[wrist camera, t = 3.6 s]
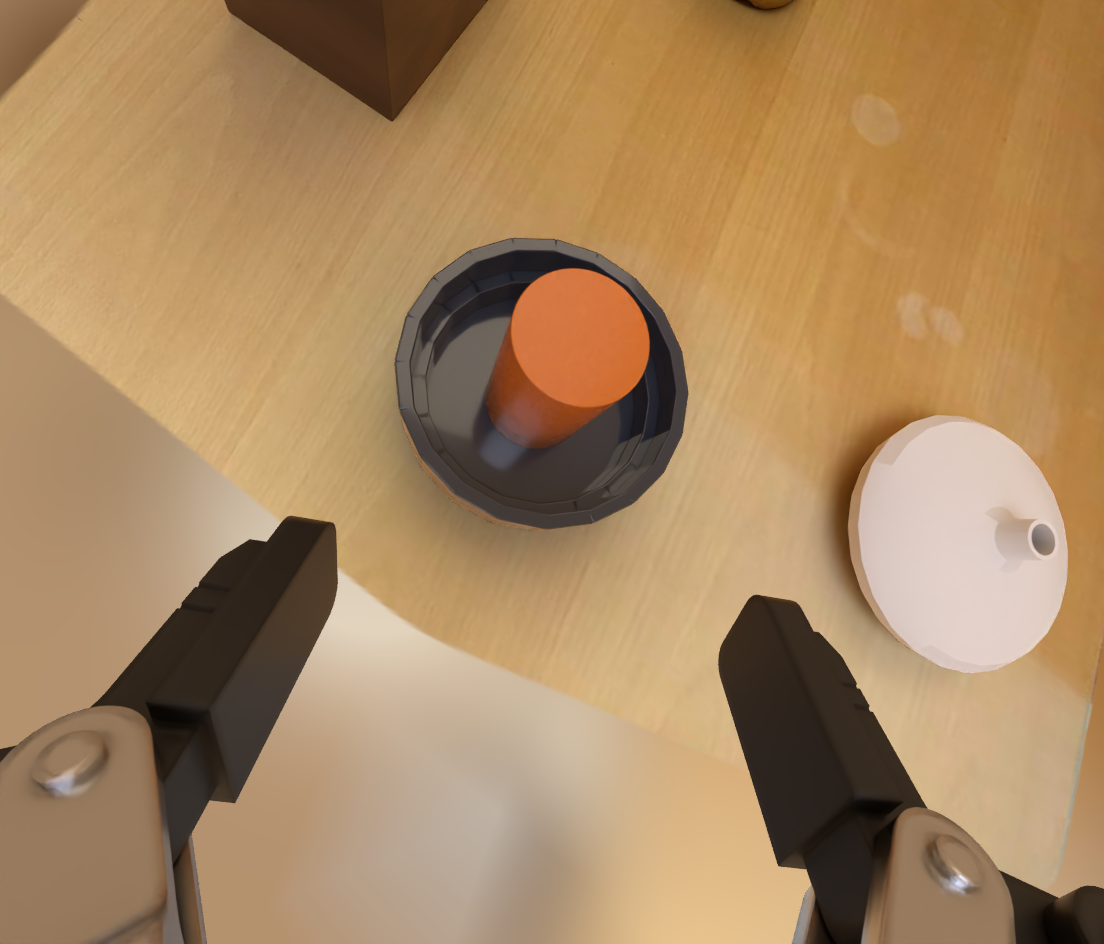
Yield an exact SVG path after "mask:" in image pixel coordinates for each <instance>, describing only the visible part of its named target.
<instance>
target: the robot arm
mask: <svg viewBox="0 0 1104 944" xmlns="http://www.w3.org/2000/svg"><path fill="white" fill-rule="evenodd" d="M337 581H338V578H337V544H336V528H335V525H334V523H332V522H326V521H320V520H314V519H308V518H302V517H296V516H288V517H286V518H285V519H284V520H283V521H282V522H281V524H280V525H279V527H278V528H277V529H276V530H275V532H274V533H273V534H272V536H271V537H270V538H269V540H268V541H267V542H264V541H258V540H251V539H250V540H248V541H246V542H245V543H243V544H242V545H240V546H239V547H237V548H235V549H233V550H232V551H230V552H229V553H227V554H225V555H224V556H222V557H221V558H219V560H218V561H217V562H216V563H215V564H214V566H213V567H212V568H211V569H210V570H209V571H208V573H207V574H206V575H205V576H204V577H203V578H202V580H201V581H200V582H199V586H198V587H195V588H194V589H193V590H192V592H191V593H190V594H189V595H188V596H187V597H186V599H185V600H184V601H183V602H182V606H181V608H180V609H179V608H177V609H176V610H175V612H174V613H173V614H172V615H171V616H170V617H169V618H168V620H167V621H166V622H165V623H164V624H163V626H162V627H161V628H160V629H159V630H158V632H157V633H156V634H155V635H154V636H153V637H152V639H151V640H150V641H149V642H148V643H147V645H146V646H145V647H144V648H143V649H142V651H141V652H140V653H139V654H138V655H137V656H136V657H135V659H134V660H133V661H132V662H131V663H130V664H129V666H128V667H127V668H126V669H125V670H124V672H123V673H122V674H121V675H120V676H119V678H118V679H117V680H116V681H115V682H114V683H113V685H112V686H111V687H110V688H109V689H108V691H107V692H106V693H105V694H104V695H103V696H102V697H101V698H100V699H99V700H98V701H97V702H96V703H95V704H93V705H92V706H91V707H90V708H87V709H83V710H80V711H76V712H73V713H71V714H68V715H65V716H63V717H61V718H58V719H56V720H54V721H52V722H51V723H49V724H47V725H45V726H43V727H42V728H40V729H38V730H37V731H35V732H33V733H32V734H31V735H29V736H28V737H27V738H26V739H24V740H23V741H22V742H20V743H19V744H18V745H16V746H13V747H8V748H3V749H0V944H207V940H206V933H205V927H204V918H203V911H202V904H201V897H200V890H199V882H198V875H197V868H196V861H195V854H194V847H193V840H192V834H191V833H192V831H193V829H194V828H195V826H196V824H197V822H198V820H199V818H200V816H201V815H202V813H203V811H204V809H205V807H206V806H207V803H208V802H209V800H212V801H221V802H231V803H235V802H236V800H237V798H238V796H239V794H240V792H241V790H242V788H243V786H244V784H245V782H246V780H247V778H248V776H249V774H250V772H251V770H252V768H253V766H254V764H255V762H256V760H257V758H258V756H259V754H260V752H261V750H262V748H263V746H264V744H265V743H266V740H267V738H268V737H269V734H270V732H271V730H272V729H273V726H274V725H275V723H276V720H277V719H278V717H279V715H280V712H281V711H282V709H283V707H284V705H285V703H286V701H287V699H288V697H289V694H290V693H291V691H292V689H293V687H294V685H295V683H296V681H297V679H298V677H299V675H300V673H301V671H302V669H303V667H304V665H305V663H306V661H307V659H308V657H309V655H310V653H311V651H312V649H313V647H314V645H315V643H316V641H317V639H318V637H319V635H320V633H321V631H322V629H323V627H324V625H325V623H326V621H327V619H328V617H329V615H330V613H331V610H332V607H333V604H334V601H335V597H336V592H337V584H338V582H337ZM718 666H719V674H720V678H721V681H722V684H723V687H724V691H725V694H726V697H727V700H728V704H729V707H730V710H731V714H732V717H733V720H734V723H735V727H736V730H737V733H738V736H739V740H740V743H741V746H742V749H743V753H744V756H745V759H746V762H747V766H748V769H749V772H750V776H751V778H752V782H753V785H754V789H755V792H756V795H757V798H758V801H759V805H760V808H761V811H762V815H763V818H764V821H765V824H766V827H767V831H768V834H769V837H770V841H771V844H772V847H773V851H774V854H775V857H776V860H777V864H778V866H781V867H791V868H799V869H807V872H808V875H809V878H810V881H811V884H812V886H811V887H810V888H809V889H808V890H807V891H806V893H805V895H804V898H803V902H802V906H801V910H800V914H799V918H798V922H797V926H796V930H795V934H794V938H793V942H792V944H1104V889H1103V888H1099V887H1096V886H1084V887H1080V888H1078V889H1076V890H1074V891H1072V892H1070V893H1068V894H1066V895H1065V896H1063V897H1061V898H1058V897H1055V896H1053V895H1051V894H1049V893H1047V892H1045V891H1043V890H1040V889H1038V888H1036V887H1034V886H1032V885H1030V884H1028V883H1025V882H1023V881H1021V880H1019V879H1017V878H1015V877H1013V876H1011V875H1008V874H1006V873H1004V872H1002V871H1000V870H998V868H997V867H996V865H995V864H994V862H993V861H992V860H991V858H990V857H989V856H988V854H987V853H986V852H985V851H984V849H983V848H982V847H981V846H980V845H979V844H978V843H977V842H976V841H975V840H974V839H973V838H972V837H971V836H970V835H969V834H968V833H967V832H966V831H965V830H963V829H962V828H961V827H960V826H958V825H957V824H956V823H954V822H953V821H951V820H950V819H948V818H946V817H945V816H943V815H941V814H939V813H937V812H935V811H932V810H929V809H928V808H927V807H926V805H925V804H924V802H923V800H922V799H921V797H920V795H919V793H918V792H917V790H916V788H915V786H914V784H913V783H912V781H911V779H910V777H909V776H908V774H907V772H906V770H905V768H904V767H903V765H902V763H901V761H900V759H899V758H898V756H897V754H896V752H895V751H894V749H893V747H892V745H891V743H890V742H889V740H888V738H887V736H886V735H885V733H884V731H883V729H882V727H881V726H880V724H879V722H878V720H877V719H876V717H875V715H874V713H873V712H870V711H869V704H868V703H867V701H866V699H865V697H864V695H863V694H862V692H861V690H860V689H857V687H856V684H857V683H856V681H855V679H854V678H853V676H852V674H851V672H850V670H849V669H848V667H847V665H846V663H845V662H844V660H843V658H842V656H841V655H840V654H839V653H838V652H837V651H836V650H835V649H834V648H833V647H832V646H831V645H830V644H829V643H828V641H827V640H826V639H825V638H824V637H823V636H822V635H821V634H820V633H819V632H814V631H813V629H812V627H811V626H810V624H809V622H808V620H807V618H806V616H805V614H804V612H803V611H802V609H801V607H800V606H799V605H798V604H797V603H796V602H794V601H791V600H785V599H779V598H773V597H767V596H761V595H753V596H752V597H751V598H749V600H748V601H747V603H746V604H745V606H744V608H743V609H742V611H741V613H740V614H739V616H738V618H737V619H736V621H735V623H734V624H733V626H732V628H731V629H730V631H729V633H728V634H727V636H726V638H725V639H724V641H723V643H722V645H721V648H720V652H719V660H718Z"/></svg>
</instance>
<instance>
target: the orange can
mask: <svg viewBox="0 0 1104 944" xmlns="http://www.w3.org/2000/svg"><path fill="white" fill-rule="evenodd" d="M649 349H650V341H649V332H648V328H647V324H646V321H645V319H644V316H643V314H642V312H641V310H640V308H639V306H638V305H637V303H636V302H635V300H634V299H633V298H632V297H631V296H630V294H629V293H628V292H627V291H626V290H625V289H624V288H623V287H621V286H620V285H619V284H617V283H616V282H615V281H613V280H612V279H610V278H608V277H606V276H604V275H602V274H600V273H597V272H594V271H590V270H585V269H576V268H569V269H561V270H556V271H553V272H550V273H547V274H545V275H543V276H541V277H540V278H538V279H537V280H535V281H534V282H533V283H531V284H530V285H529V286H528V287H527V288H526V289H525V290H524V292H523V293H522V295H521V296H520V298H519V299H518V301H517V303H516V305H515V308H514V311H513V314H512V316H511V319H510V322H509V325H508V327H507V330H506V333H505V336H504V338H503V341H502V344H501V347H500V349H499V352H498V355H497V358H496V360H495V363H494V366H493V369H492V371H491V374H490V377H489V380H488V382H487V386H486V392H485V402H486V408H487V411H488V414H489V417H490V419H491V421H492V423H493V424H494V426H495V427H496V429H497V430H498V431H499V432H500V433H501V434H502V435H503V436H504V437H505V438H507V439H508V440H510V441H511V442H513V443H515V444H517V445H520V446H523V447H527V448H534V449H542V448H548V447H552V446H555V445H557V444H559V443H561V442H563V441H564V440H566V439H567V438H568V437H570V436H571V435H572V434H574V433H575V432H576V431H578V430H579V429H581V428H582V427H583V426H585V425H586V424H587V423H589V422H590V421H591V420H593V419H594V418H596V417H597V416H598V415H600V414H601V413H602V412H604V411H605V410H606V409H608V408H609V407H611V406H612V405H613V404H615V403H616V402H617V401H619V400H620V399H621V398H623V397H624V396H625V395H627V394H628V393H629V392H630V391H631V390H632V389H633V388H634V387H635V386H636V385H637V383H638V382H639V380H640V379H641V377H642V375H643V373H644V371H645V369H646V365H647V362H648V357H649Z"/></svg>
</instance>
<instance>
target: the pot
mask: <svg viewBox="0 0 1104 944" xmlns="http://www.w3.org/2000/svg"><path fill="white" fill-rule="evenodd" d="M569 268H576V269H585V270H590V271H594V272H597V273H600V274H602V275H604V276H606V277H608V278H610V279H612V280H613V281H615V282H616V283H617V284H619V285H620V286H621V287H623V288H624V289H625V290H626V291H627V292H628V293H629V294H630V296H631V297H632V298H633V299H634V300H635V302H636V303H637V305H638V306H639V308H640V310H641V312H642V314H643V316H644V319H645V321H646V324H647V328H648V332H649V341H650V349H649V357H648V362H647V365H646V369H645V371H644V373H643V375H642V377H641V379H640V380H639V382H638V383H637V385H636V386H635V387H634V388H633V389H632V390H631V391H630V392H629V393H628V394H627V395H625V396H624V397H623V398H621V399H620V400H619V401H617V402H616V403H615V404H613V405H612V406H611V407H609V408H608V409H606V410H605V411H604V412H602V413H601V414H600V415H598V416H597V417H596V418H594V419H593V420H591V421H590V422H589V423H587V424H586V425H585V426H583V427H582V428H581V429H579V430H578V431H576V432H575V433H574V434H572V435H571V436H570V437H568V438H567V439H566V440H564V441H563V442H561V443H559V444H557V445H555V446H552V447H548V448H542V449H534V448H527V447H523V446H520V445H517V444H515V443H513V442H511V441H510V440H508V439H507V438H505V437H504V436H503V435H502V434H501V433H500V432H499V431H498V430H497V429H496V427H495V426H494V424H493V423H492V421H491V419H490V417H489V414H488V411H487V408H486V402H485V392H486V386H487V382H488V380H489V377H490V374H491V371H492V369H493V366H494V363H495V360H496V358H497V355H498V352H499V349H500V347H501V344H502V341H503V338H504V336H505V333H506V330H507V327H508V325H509V322H510V319H511V316H512V314H513V311H514V308H515V305H516V303H517V301H518V299H519V298H520V296H521V295H522V293H523V292H524V290H525V289H526V288H527V287H528V286H529V285H530V284H531V283H533V282H534V281H535V280H537V279H538V278H540V277H541V276H543V275H545V274H547V273H550V272H553V271H556V270H561V269H569ZM395 373H396V384H397V395H398V406H399V412H400V416H401V420H402V424H403V428H404V431H405V433H406V435H407V438H408V440H409V442H410V444H411V447H412V449H413V451H414V453H415V456H416V458H417V460H418V462H419V464H420V467H421V468H422V470H423V471H424V472H425V473H426V474H427V475H428V476H429V477H430V478H431V480H432V481H433V482H434V483H435V484H436V485H437V486H438V487H439V488H440V489H441V490H442V492H443V493H444V494H445V495H446V496H447V497H448V498H449V499H450V500H452V502H454V503H456V504H457V505H459V506H461V507H463V508H465V509H466V510H468V511H470V512H472V513H473V514H475V515H477V516H479V517H480V518H482V519H484V520H486V521H488V522H490V523H494V524H499V525H504V526H509V527H514V528H519V529H524V530H529V531H530V530H532V531H533V530H546V529H555V528H563V527H571V526H579V525H586V524H592V523H595V522H597V521H599V520H601V519H603V518H605V517H607V516H609V515H612V514H614V513H616V512H618V511H620V510H622V509H624V508H626V507H628V506H630V505H632V504H633V503H635V502H636V501H637V500H638V499H639V498H640V497H641V496H642V495H643V494H644V493H645V492H646V490H647V489H648V488H649V487H650V486H651V485H652V484H653V483H654V482H655V481H656V480H657V479H658V478H659V477H660V476H661V475H662V474H663V473H664V471H665V469H666V467H667V465H668V463H669V461H670V459H671V457H672V455H673V453H674V451H675V449H676V447H677V445H678V443H679V441H680V439H681V437H682V434H683V427H684V420H685V413H686V406H687V399H688V387H687V380H686V374H685V367H684V361H683V354H682V351H681V348H680V346H679V343H678V341H677V339H676V337H675V335H674V333H673V330H672V328H671V326H670V324H669V322H668V320H667V318H666V315H665V313H664V312H663V310H662V309H661V307H660V306H659V305H658V304H657V303H656V302H655V300H654V299H653V298H652V297H651V296H650V294H649V293H648V292H647V291H646V290H645V289H644V287H643V286H642V285H641V284H640V283H639V282H638V280H637V279H636V278H634V277H633V276H632V275H630V274H629V273H627V272H626V271H624V270H623V269H621V268H620V267H618V266H617V265H615V264H614V263H612V262H611V261H609V260H608V259H607V258H605V257H604V256H602V255H601V254H598V253H597V252H594V251H591V250H588V249H585V248H582V247H578V246H575V245H572V244H569V243H566V242H563V241H560V240H555V239H528V238H510V239H506V240H503V241H500V242H496V243H493V244H489V245H486V246H483V247H479V248H476V249H473V250H470V251H468V252H466V253H465V254H464V255H462V256H461V257H459V258H458V259H457V260H455V261H454V262H452V263H451V264H450V265H448V266H447V267H446V268H444V269H443V270H441V271H440V272H439V273H437V274H436V275H434V276H433V278H431V280H430V281H429V283H428V284H427V286H426V287H425V288H424V290H423V291H422V293H421V294H420V296H419V297H418V299H417V300H416V302H415V303H414V304H413V306H412V307H411V309H410V310H409V312H408V313H407V316H406V318H405V322H404V326H403V329H402V333H401V337H400V341H399V345H398V349H397V353H396V357H395Z"/></svg>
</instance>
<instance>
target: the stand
mask: <svg viewBox="0 0 1104 944" xmlns="http://www.w3.org/2000/svg"><path fill="white" fill-rule="evenodd" d="M486 1H487V0H225V3H226V5H227V8H228V10H229V12H231V13H232V14H234V15H235V16H237V17H238V18H240V19H241V20H243V21H244V22H246V23H247V24H249V25H250V26H252V27H253V28H255V29H256V30H257V31H259V32H260V33H262V34H263V35H265V36H266V37H268V38H269V39H271V40H272V41H274V42H275V43H277V44H278V45H280V46H281V47H283V48H284V49H286V50H287V51H289V52H290V53H292V54H293V55H295V56H296V57H298V58H299V59H301V60H302V61H304V62H305V63H306V64H308V65H309V66H311V67H312V68H314V69H315V70H317V71H318V72H320V73H321V74H323V75H324V76H326V77H327V78H329V79H330V80H332V81H333V82H335V83H336V84H338V85H339V86H341V87H342V88H344V89H345V90H347V91H348V92H350V93H351V94H353V95H354V96H355V97H357V98H358V99H360V100H361V101H363V102H364V103H366V104H367V105H369V106H370V107H372V108H373V109H375V110H376V111H378V112H379V113H381V114H382V115H384V116H385V117H387V118H388V119H390V120H391V121H393V120H394V119H395V117H396V116H397V115H398V113H399V112H400V111H401V110H402V108H403V107H404V106H405V104H406V103H407V102H408V101H409V99H410V98H411V97H412V96H413V94H414V93H415V92H416V90H417V89H418V88H419V87H420V85H421V84H422V83H423V81H424V80H425V79H426V78H427V76H428V75H429V74H430V73H431V71H432V70H433V69H434V67H435V66H436V65H437V64H438V62H439V61H440V60H441V58H442V57H443V56H444V55H445V53H446V52H447V51H448V50H449V48H450V47H451V46H452V44H453V43H454V42H455V41H456V39H457V38H458V37H459V36H460V34H461V33H462V32H463V30H464V29H465V28H466V27H467V25H468V24H469V23H470V21H471V20H472V19H473V18H474V16H475V15H476V14H477V13H478V11H479V10H480V9H481V7H482V6H483V5H484V4H485V2H486Z"/></svg>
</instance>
